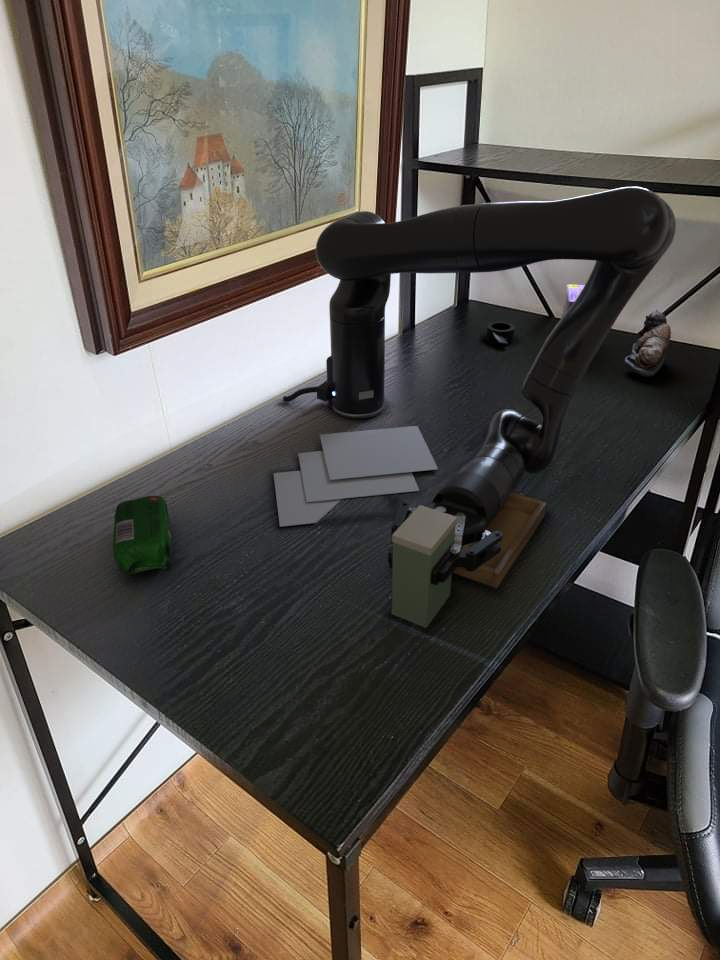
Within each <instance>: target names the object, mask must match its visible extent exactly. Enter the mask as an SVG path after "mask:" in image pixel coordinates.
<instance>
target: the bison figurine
mask: <svg viewBox="0 0 720 960" xmlns="http://www.w3.org/2000/svg"><path fill="white" fill-rule="evenodd" d="M642 330H643V331H645V333H644V334H643V335H642V336H641V337H640V338H638V339H637V341H636V342H634V343H633V344H632V349H631V354H630V355H627V356H626V357H625V358H624V363H625V366H627V368H628V370H629V371H630V372H632V373H634V374H635V375H638V376H641V377H646V378H651V377H653V376H655V375H656V374H657V373H658V372H659V370H660V369H661V368H662V367H663V364H664V360H665V357H666V355H667V350H668V348H669V345H670V340H671V339H672V338H671V337H672V336H671V335H672V331H671V330H672V329H671V326H670V325H669V324H668V320H667V318H666V316H665V314H664V313H663V312H660V311H659V310H658V309H656V310H655V311H652V312H650V313H649V315H645V319H644V321H643V327H642Z"/></svg>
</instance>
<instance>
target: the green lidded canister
mask: <svg viewBox="0 0 720 960" xmlns="http://www.w3.org/2000/svg"><path fill="white" fill-rule="evenodd" d="M415 508H416V510H415V511H414V512H413V513H412V514H411V515H410V516H409V517H408V518H407V519H406V520H405V521H404V523H403V524H402V525H401V526H400V527H399V528H398V529H397V530H396V531H395V532H394V533H393V535H392V542H393V544H392V546H393V568H392V569H391V570H392V577H391V615H393V616H395V617H398V618H400V619H402V620H405V621H408V622H410V623H413V624H415V625H417V626H421V627H423V628H425V629H427V628H428V627H429V625H430V624H431V623H432V621H433V619H435V617H436V616H437V615H438V613H439V612H440V610H441V609H442V607H443V606H444V605H445V603H446V602H447V600H449V598H450V596H451V589H452V588H451V587H452V576H453V575H452V574H453V572H452V573H451V575H450V576H449V577H448V579H447V580H446V581H445V582H443V583H441V582H439V583H438V585H434V584H431V572H432V569H433V567H434V566H435V565H436V564H437V562H438V561H439V560H440V558H441V557H442V556H443V555H444V553H445V552H448V553H449V551H450V545H451V544H452V543H453V541H454V538H455V525H456V524H457V517H455V516H452V515H449V514H446V513H443V512H440V511H437V510H434V509H431V508H428V507H425V505H421V504H419V505H418V506H417V507H415Z"/></svg>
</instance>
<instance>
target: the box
mask: <svg viewBox="0 0 720 960" xmlns="http://www.w3.org/2000/svg"><path fill="white" fill-rule="evenodd" d="M584 286H585V284H571V283H570V284H566V288H565V294H564V300H563V307H562V313H561V318H562V317H563V316H564V315H565V314H566V312H567V311H568V310H569V308H570V307H571V306H572V304H573V303H574V302H575V300H576V299H577V297H578V296H579V294H580V293H581V291H582V289H583V288H584Z"/></svg>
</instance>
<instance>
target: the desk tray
mask: <svg viewBox="0 0 720 960" xmlns="http://www.w3.org/2000/svg"><path fill="white" fill-rule="evenodd" d="M547 504H548V503H547V502H546V501H544V500H543V501H542V500H540V499H536V498H533V497H530V496H526V495H523V494H519V493H515V492H513V491H512V493H511V494H510V495H509V497H508V500H507V502H506V503H505V505H504V507H503V509H502V511H500V512H499V513H498V514H497V516H496V517H495V519H494V520H493V521H492V522H491V524H490V525H489V526H488V528H487V529H486V530H487V531H489V532H491V533H492V532H494V531H500V532H502V533H503V537H502V546H501V552H500V553H498V554H497V555H495V556H494V557H492V558H491V559H490V560H488V561H487V562H485V563H484V564H483V565H481V566H480V567H478V568H477V569H476V570H474V571H467V570H466V569H465V567H459V568H458V569H454V571H453V572H452V574H456V575H458V576H460V577H464V578H466V579H469V580H471V581H475V582H478V583H481V584H482V585H483V584H484V585H486V586H489V587H492V588H494V589H498V588H499V586H500V584H501V583H502V582H503V580H504V578H505V577H506V575H507V574H508V572H509V571H510V569H511V568H512V566H513V565H514V563H515V562H516V560H517V559H518V557H519V556H520V554H521V553H522V551H523V549H524V548H525V546H526V545H527V543H528V542H529V541H530V539H531V537H532V536H533V535H534V533H535V531H536V530H537V528H538V527H539V525H540V524H541V522H542V520H543V519H544V518H545V516H546V510H547ZM478 542H479V541H478ZM478 542H474V543H471V544H467V545H464V546H463V548H462V551H467V549H469V548H470V547H472V546H473V545H475V544H476V543H478Z"/></svg>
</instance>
